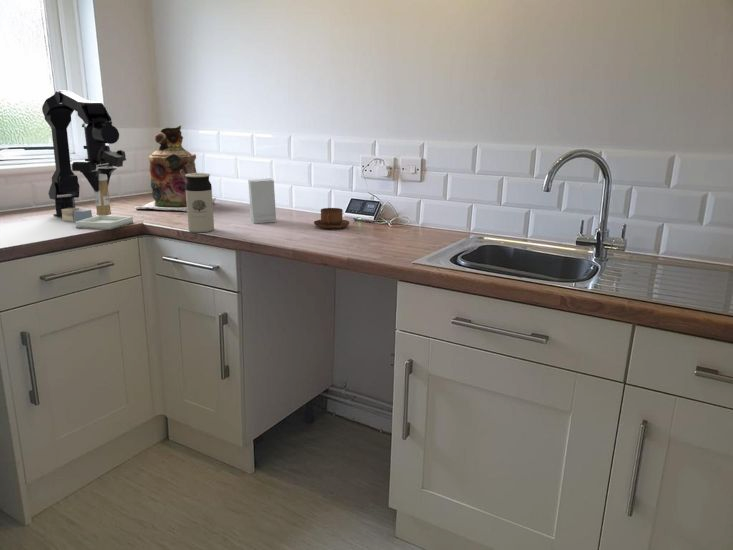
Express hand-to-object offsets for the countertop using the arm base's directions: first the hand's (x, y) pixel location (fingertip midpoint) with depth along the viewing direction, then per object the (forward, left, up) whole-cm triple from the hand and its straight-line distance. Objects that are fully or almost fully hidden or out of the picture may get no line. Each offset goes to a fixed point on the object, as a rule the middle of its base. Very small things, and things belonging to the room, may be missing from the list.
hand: (101, 190), depth 187 cm
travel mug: (+1, +35, -12) cm, 37 cm away
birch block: (-6, -17, -12) cm, 21 cm away
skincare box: (-18, +49, -12) cm, 54 cm away
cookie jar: (-42, +4, -12) cm, 44 cm away
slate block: (-4, -11, -12) cm, 16 cm away
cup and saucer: (-14, +75, -12) cm, 77 cm away
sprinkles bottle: (0, 0, -8) cm, 8 cm away
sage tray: (0, 0, -12) cm, 12 cm away
